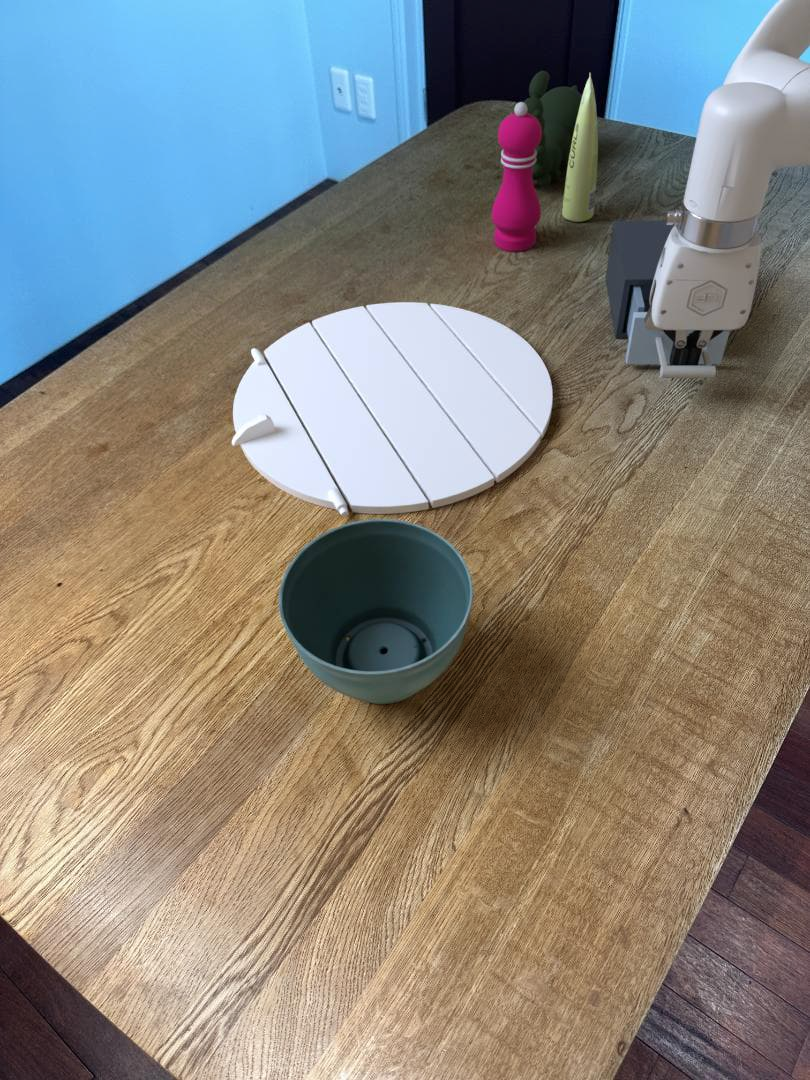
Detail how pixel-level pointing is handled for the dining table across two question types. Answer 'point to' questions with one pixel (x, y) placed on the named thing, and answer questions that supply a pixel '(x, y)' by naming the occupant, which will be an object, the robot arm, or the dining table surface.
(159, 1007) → the dining table surface
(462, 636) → the flower pot
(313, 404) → the lazy susan
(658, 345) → the drawer
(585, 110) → the tube
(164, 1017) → the dining table surface
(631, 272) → the dark grey cabinet
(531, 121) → the pepper mill
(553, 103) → the toy figurine
